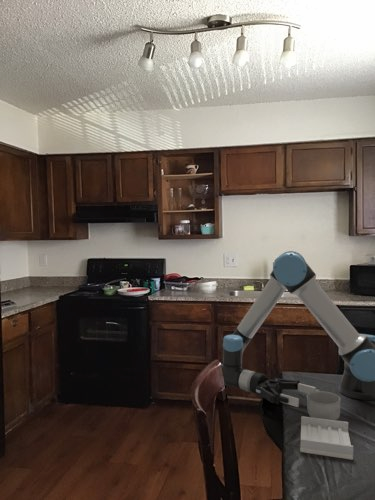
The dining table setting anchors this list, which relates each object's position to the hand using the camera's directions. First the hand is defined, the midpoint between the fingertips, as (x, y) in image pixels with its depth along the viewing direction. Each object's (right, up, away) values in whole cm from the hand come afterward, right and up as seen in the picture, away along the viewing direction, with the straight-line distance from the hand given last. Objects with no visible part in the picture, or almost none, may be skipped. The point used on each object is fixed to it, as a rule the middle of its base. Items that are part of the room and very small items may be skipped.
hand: (307, 397), depth 146 cm
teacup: (+4, -6, -3) cm, 8 cm away
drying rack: (0, -7, -19) cm, 21 cm away
